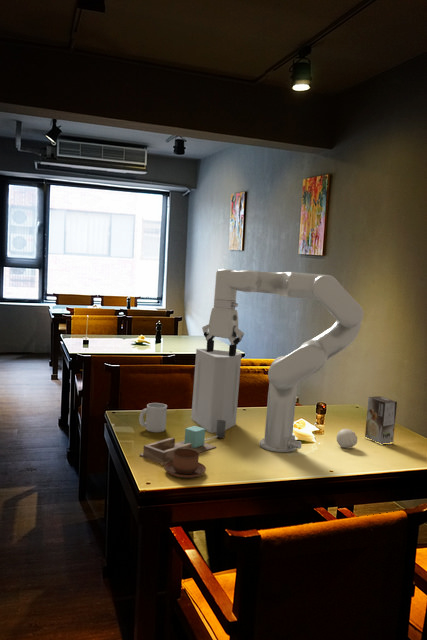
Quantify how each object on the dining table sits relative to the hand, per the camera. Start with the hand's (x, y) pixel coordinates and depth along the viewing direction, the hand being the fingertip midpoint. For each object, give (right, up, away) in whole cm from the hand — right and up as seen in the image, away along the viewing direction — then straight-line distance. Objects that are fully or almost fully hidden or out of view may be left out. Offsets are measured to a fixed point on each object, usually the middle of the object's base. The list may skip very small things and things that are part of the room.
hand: (220, 353), depth 189 cm
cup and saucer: (-11, -33, -32) cm, 47 cm away
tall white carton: (-1, -29, +21) cm, 35 cm away
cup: (-25, -28, +7) cm, 38 cm away
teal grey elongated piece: (-5, -30, -2) cm, 30 cm away
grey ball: (+45, -34, +3) cm, 56 cm away
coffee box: (+60, -34, +15) cm, 70 cm away
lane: (-14, -31, -14) cm, 36 cm away
